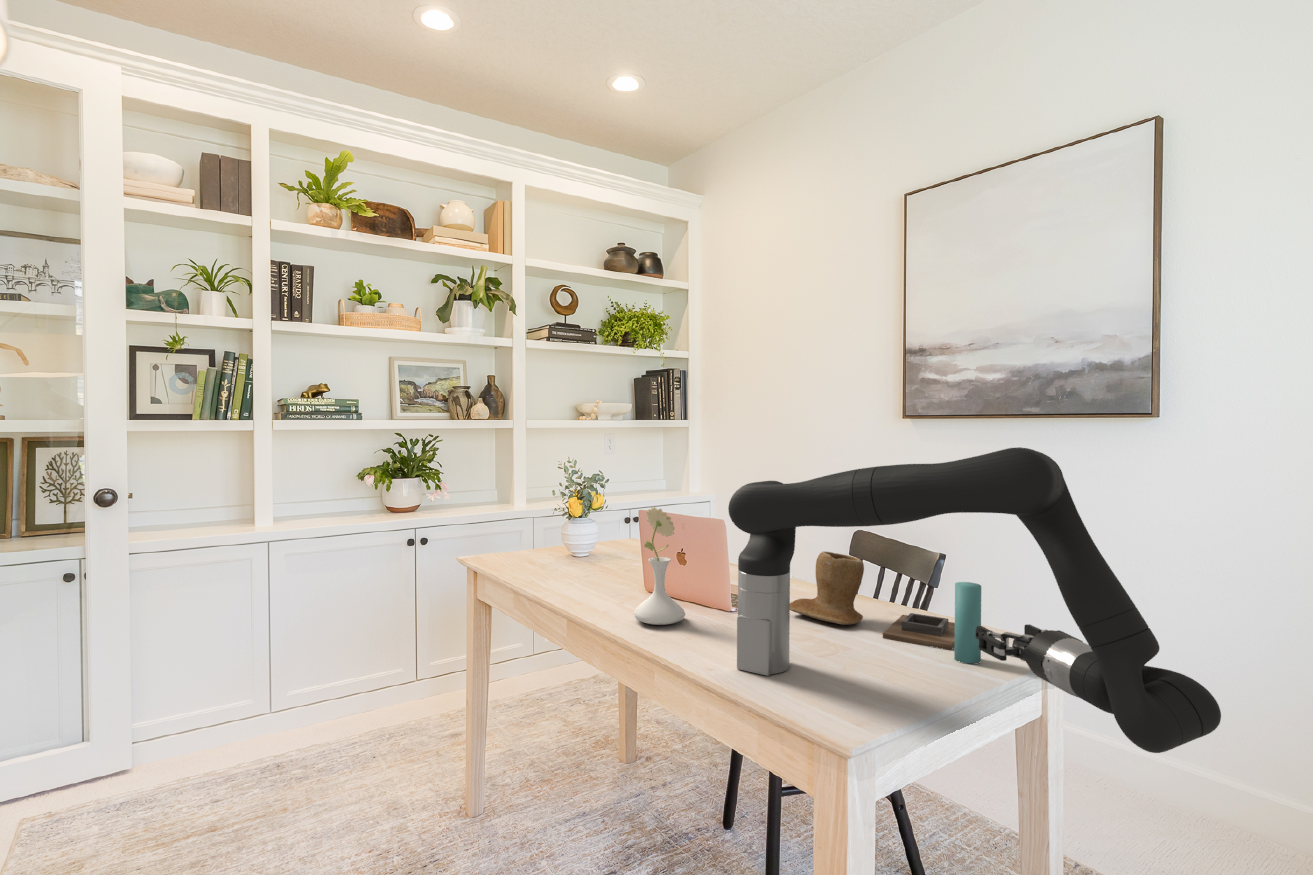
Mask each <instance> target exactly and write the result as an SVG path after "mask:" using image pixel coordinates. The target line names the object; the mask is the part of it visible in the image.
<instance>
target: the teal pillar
mask: <svg viewBox="0 0 1313 875" xmlns="http://www.w3.org/2000/svg"><path fill="white" fill-rule="evenodd" d="M954 623H955V646H954V660H955V661H957V662H958V661H960V662H959V663H961V662H963V663H962V664H965V663H979V662H980V661H981V660H982V658H981V657H982V651H981V650H979V640H978V639H977V638H976V628H977V626H982V585H981V584H979V583H975V582H969V581H957V582H955V583H954ZM981 662H982V661H981ZM979 664H980V663H979Z"/></svg>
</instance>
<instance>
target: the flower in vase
mask: <svg viewBox="0 0 1313 875" xmlns="http://www.w3.org/2000/svg"><path fill="white" fill-rule="evenodd" d="M647 511H649V512H647ZM645 513H646V516H645V517H646V521H647V522H649V525H650V526H651V527H652V529H653V534H652V537H651V542H650V541H649V540H646V541H645V543H644V545H643V546H644V548H647V549H648V550H650V551H654V553H655V557H654V556H652V557H650V558H648V562H649V563H650V565H651V567H652V570H653V576H654V579H653V580H654V588H653V592H652V593H651V595H650V596H648V597H647V598H646V599H645V600H643V601H642V602H641V603H639V605H638V606H637V607H636V608H635V609H634V612H633V615H634V618H635V619H636V620H637V621H638V622H641V623H644V624H648V625H657V626H660V625H661V626H662V625H663V626H664V625H672V624H676V623H679V622H680V621H683V619H684V618H685V616H686V611H685V609H684V608H683V607H682V606H681V605H680V604H679V603H678V602H677V601H676V600H674V599H673V598H672V597H671V596H670V595H669V594H668V593H667V591H666V585H665V584H666V583H665V581H666V580H665V579H666V573H667V569H668V565H669V563H670V562H671V560H672V559H671V558H670V557H669V558H668V557H666V556H665V557H664V556H659V554H658V553H659V552H661V551H663V550H665V549H666V548H668V547H669V544H666V546H665V547H662V548H660V549H658V550H657V551H656V547H655V545H654V539H655V534H656V533H658V534H660V535H662V536H665V537H667V538H668V537H671V536H672V535H674V534H675V533H674V530H675V526H674V522H673V521H672V517H671V516H670V515H668V514H667V513H666V512H664V511H663V509H662V508H658V509H657V507H656V506H653V507H651V508H648V509H647V510H646V511H645Z"/></svg>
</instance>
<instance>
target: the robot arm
mask: <svg viewBox="0 0 1313 875" xmlns="http://www.w3.org/2000/svg"><path fill="white" fill-rule="evenodd" d="M958 513H961V514H962V513H965V514H966V513H968V514H969V513H970V514H971V513H972V514H973V513H977V514H978V513H980V514H981V513H984V514H985V513H987V514H1006V515H1014V516H1016V517H1017V518H1018V519H1019V520H1020V522H1021V523H1022V524H1023V526H1025V527H1026V529H1027V530H1028V532H1029V533H1030V534H1031V536H1032V537H1033V539H1034V540H1035V541H1036V543H1037V545H1038V546H1039V548H1040V549H1041V551H1042V553H1043V555H1044V556H1045V559H1046V561H1047V562H1048V565H1049V567H1050V569H1051V571H1052V573H1053V574H1052V575H1053V576H1054V578H1055V582H1056V585H1057V586H1058V589H1059V591H1060V594H1061V597H1062V599H1063V601H1064V602H1065V605H1066V607H1067V609H1068V612H1069V613H1070V615H1071V617H1072V618H1073V621H1074V623H1075V624H1076V625H1077V627H1078V629H1079V630H1080V632H1081V634H1082V636H1083V637H1084V639H1085V641H1086V643H1085V642H1084V641H1083V640H1081V639H1079V638H1077V637H1074V635H1073V636H1072V635H1071V634H1068V633H1066V632H1064V631H1062V630H1059V629H1058V630H1054V629H1053V630H1052V629H1051V630H1048V629H1040V628H1039V627H1036V626H1034V625H1032V624H1029V623H1028V624H1025V625H1024V633H1023V634H1019V633H1014V632H1008V631H1005V632H1003V633H999V632H998V633H997V632H994V631H992V630H991V629H988V628H986V627H985V626H982V625H981V626H977V628H976V638H977V639H978V640H979V650H981V652H983V653H985V654H987V655H989V656H991V657H993V658H995V659H997V660H999V661H1002V662H1005V661H1007V656H1008V657H1012V658H1016V659H1019V660H1021V662H1025V663H1026V664H1027V666H1028V667H1029V670H1030V671H1031V672H1032V673H1033V674H1034V675H1035V676H1037V677H1038V678H1040V679H1042V680H1043V681H1045V682H1047V683H1049V684H1050V685H1052V686H1053V687H1054V686H1055V688H1057V689H1059V690H1062V691H1063V692H1065V693H1067V694H1068V695H1071V696H1074V697H1075V698H1079V699H1081V700H1083V701H1085V702H1086V703H1088V704H1090V705H1092V706H1093V707H1095V708H1097V709H1099V710H1100V711H1102V712H1105V713H1109V714H1110V715H1113V716H1114V719H1115V722H1116V723H1117V725H1118V727H1119V728H1120V730H1121V731H1122V732H1121V733H1123V734H1124V736H1125V737H1126V738H1127V739H1128V740H1129V741H1130V742H1131V743H1132V744H1134V745H1135V746H1136V747H1139V748H1140V749H1142V750H1143V751H1145V752H1148V753H1154V754H1161V753H1166V752H1168V751H1171V750H1173V749H1175V748H1178V747H1181V746H1182V745H1185V744H1188V743H1189V742H1193V741H1194V740H1197V739H1200V738H1202V737H1204V736H1207V735H1209V734H1212V733H1213V732H1214V731H1216V729H1217V728H1218V727H1219V725H1220V724H1221V719H1222V712H1221V708H1220V706H1219V703H1218V701H1217V700H1216V698H1215V696H1213V694H1212V693H1211V692H1210V690H1208V689H1207V688H1206V687H1205V686H1203V684H1201V683H1199V682H1198V680H1197V681H1196V680H1195V679H1193V678H1191V677H1189V676H1188V675H1186V674H1184V673H1180V672H1178V671H1174V670H1170V669H1165V668H1160V667H1155V666H1150V665H1149V666H1148V665H1146V664H1147V663H1149V662H1150V661H1151V660H1152V659H1153V658H1155V657H1156V656H1157V655H1158V653H1159V652H1160V645H1159V641H1158V640H1157V638H1156V636H1155V634H1154V633H1153V631H1152V629H1151V628H1150V627H1149V625H1148V623H1147V621H1146V620H1145V618H1144V616H1142V614H1141V611H1139V609H1138V607H1136V604H1135V603H1134V601H1133V600H1132V598H1131V596H1130V595H1129V594H1128V593H1127V591H1126V589H1125V587H1124V586H1123V584H1122V583H1121V582H1120V580H1119V578H1118V577H1117V576H1116V574H1115V573H1114V571H1113V569H1112V568H1111V567H1110V566H1109V564H1108V563H1107V561H1106V559H1105V558H1104V556H1103V555H1102V553H1101V552H1100V550H1099V548H1098V546H1097V545H1096V544H1095V542H1094V540H1093V539H1092V537H1091V535H1090V533H1089V530H1088V529H1087V527H1086V525H1085V523H1084V521H1083V520H1082V517H1081V515H1080V514H1079V512H1078V509H1077V507H1076V504H1075V502H1074V500H1073V497H1072V494H1071V492H1070V490H1069V488H1068V484H1067V483H1066V479H1065V477H1064V475H1063V471H1062V469H1061V467H1060V466H1059V465H1058V463H1057V462H1056V461H1055V460H1054V459H1053V458H1052V457H1050V456H1049V455H1047V454H1045V453H1043V452H1040V451H1038V450H1035V449H1031V448H1026V447H1009V448H1004V449H1001V450H996V451H992V452H988V453H985V454H984V453H983V454H981V455H976V456H972V457H966V458H962V459H957V460H953V461H946V462H945V461H944V462H940V463H939V462H937V463H935V462H934V463H903V464H891V465H879V466H878V465H877V466H871V467H870V466H869V467H865V468H864V467H863V468H856V469H852V470H851V469H850V470H845V471H841V472H836V473H832V474H828V475H823V476H820V477H816V478H812V479H809V480H805V481H799V482H792V483H791V482H790V483H783V482H781V481H777V480H763V481H756V482H749V483H746V484H744V485H742V486H741V487H739V488H738V489H737V490H736V491H734V493H733V494H732V496H731V497H730V499H729V503H728V516H729V518H730V520H731V522H732V523H733V524H734V526H735V527H736V528H738V529H739V530H741V531H742V532H744V533H747V534H748V535H749V539H748V542H747V544H746V545H745V547H744V548H743V550H742V551H741V552H740V553H739V555H738V559H737V560H738V562H737V566H738V567H737V569H738V570H737V574H738V575H737V579H738V580H737V581H738V582H737V584H738V585H737V617H736V669H737V670H741V671H745V672H750V673H755V674H758V675H762V676H766V677H770V676H771V675H775V674H780V673H784V672H786V671H787V670H789V668H790V635H791V634H790V631H791V630H790V629H791V628H790V627H791V626H790V624H791V622H790V621H791V620H790V616H791V613H790V612H791V610H790V603H791V602H790V600H791V599H790V598H791V593H790V592H791V562H792V559H793V557H794V554H795V550H796V549H795V548H796V530H797V528H799V527H825V528H829V527H831V528H832V527H837V528H839V527H840V528H841V527H843V528H849V527H852V528H853V527H873V526H874V527H876V526H890V525H891V526H892V525H898V524H904V523H910V522H915V521H920V520H924V519H927V518H932V517H936V516H941V515H945V514H958ZM1010 639H1012V640H1013V641H1012V646H1010Z"/></svg>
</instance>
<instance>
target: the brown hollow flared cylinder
mask: <svg viewBox="0 0 1313 875" xmlns="http://www.w3.org/2000/svg"><path fill="white" fill-rule="evenodd" d="M815 561H816V562H815V581H816V582H815V583H816V589H817V593H816V594H817V596H816V597H814V598H798V599H795V600H793V601H791V602H790V612H793V613H797V614H800V615H803V616H805V617H809V618H813V619H816V620H819V621H823V622H827V623H833V624H837V625H855V624H858V623H860V622H862V620H863V619H864V618H863V617H864V616H863V614H861V613H860V612H858V611H857V610H856V609H855V605H854V604H855V600H856V596H857V594H858V592H859V590H860V587H861V585H862V580H863V576H864V572H865V565H864V562H863V561H862V560H861V559H860V558H858V557H855V556H852V555H847V554H843V553H842V554H841V553H835V552H831V551H821V552H820V553H819V555H818V556H817V558H816V560H815Z"/></svg>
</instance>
